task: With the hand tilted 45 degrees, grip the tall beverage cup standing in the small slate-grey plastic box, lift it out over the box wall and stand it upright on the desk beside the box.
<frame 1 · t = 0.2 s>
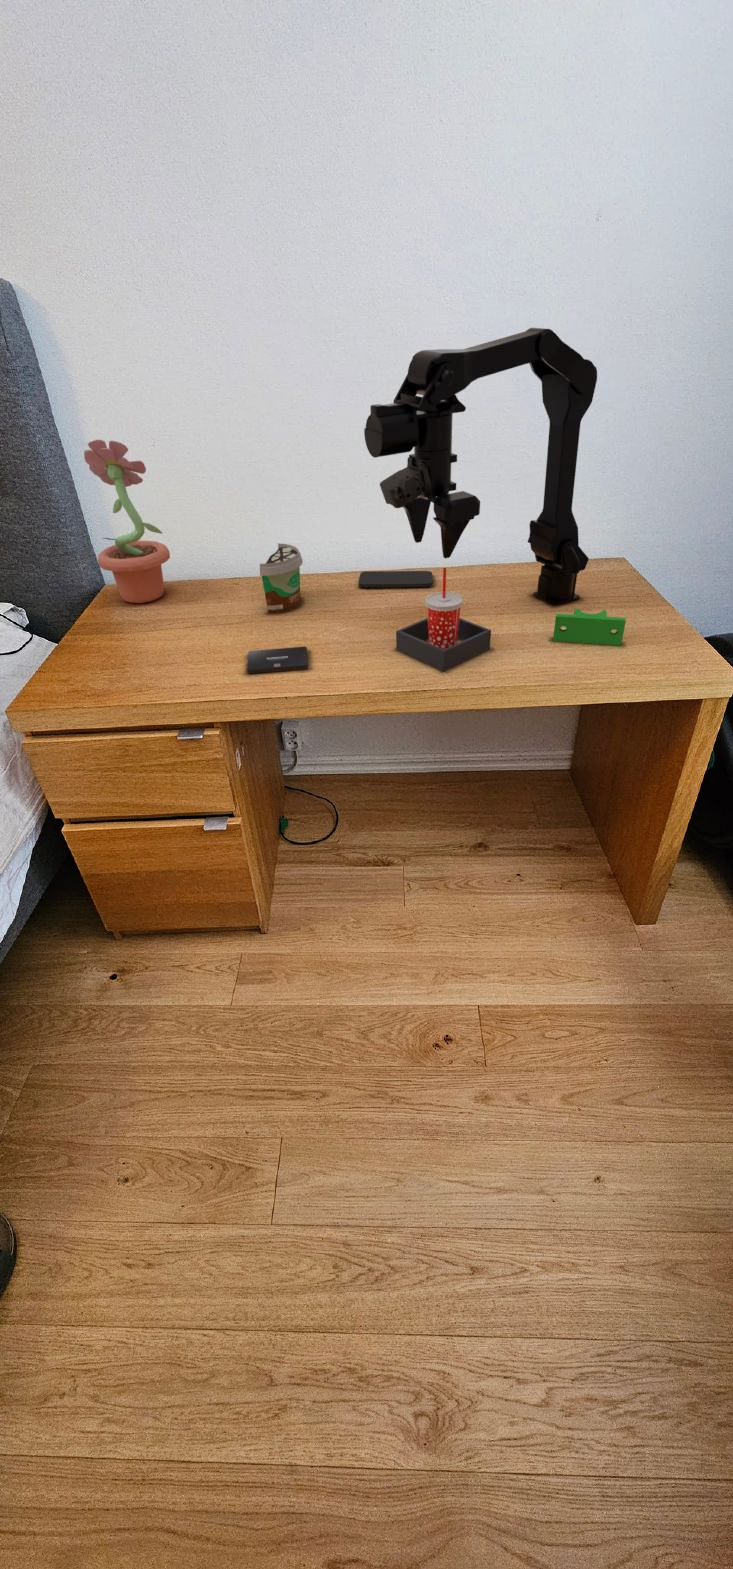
hand: (432, 549, 116), 15 cm above the table, tool pointing down, fingers open, 9 cm apart
decorative flower: (146, 597, 143), on the table
beverage cup: (442, 650, 118), resting in box
pipe clamp: (587, 640, 119), on the table
box: (442, 649, 118), on the table
phone: (395, 582, 144), on the table
solid state drive: (278, 662, 117), on the table
food container: (290, 605, 137), on the table
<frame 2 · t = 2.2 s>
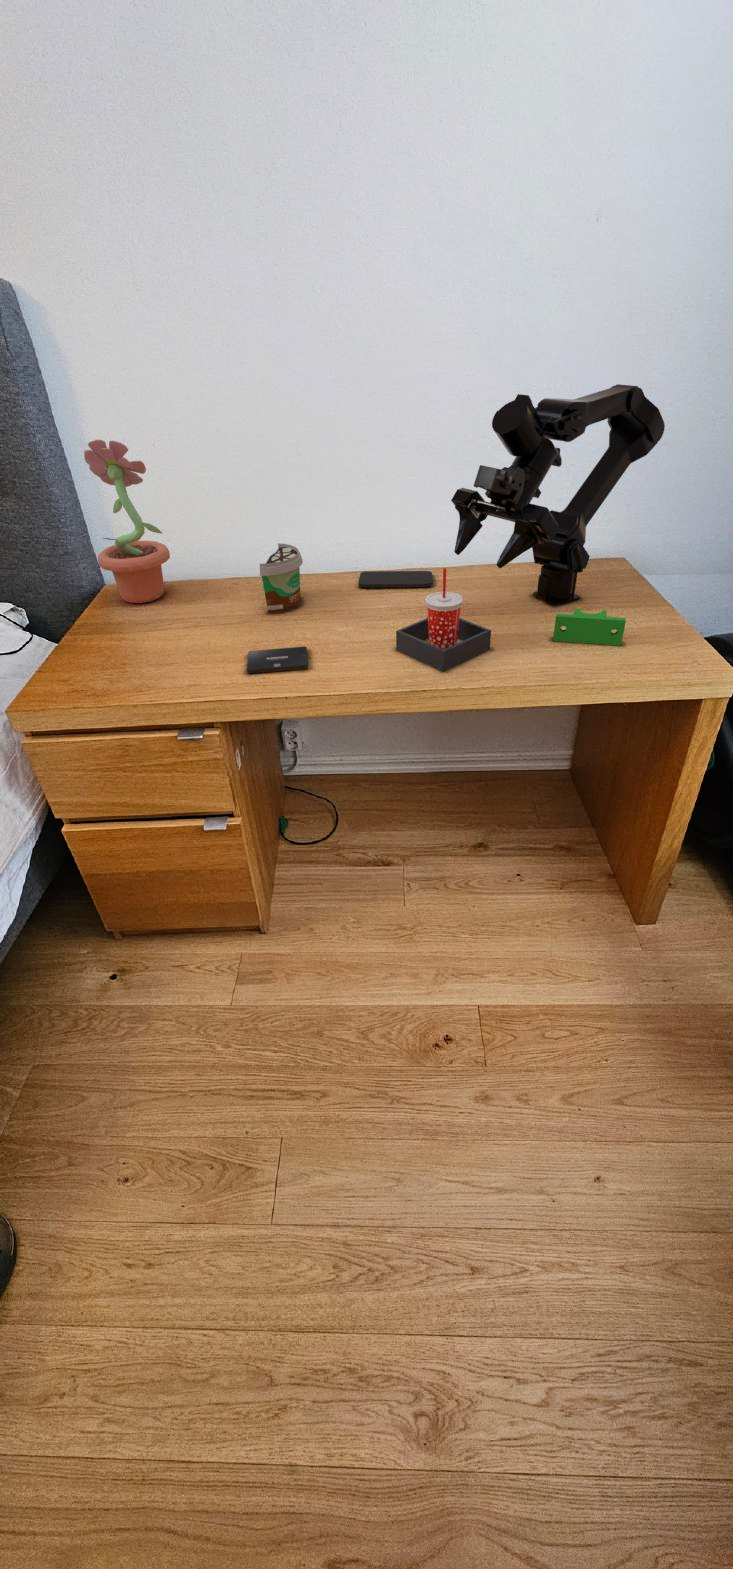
hand: (476, 560, 114), 13 cm above the table, tool tilted 45°, fingers open, 9 cm apart
nothing on the table moved.
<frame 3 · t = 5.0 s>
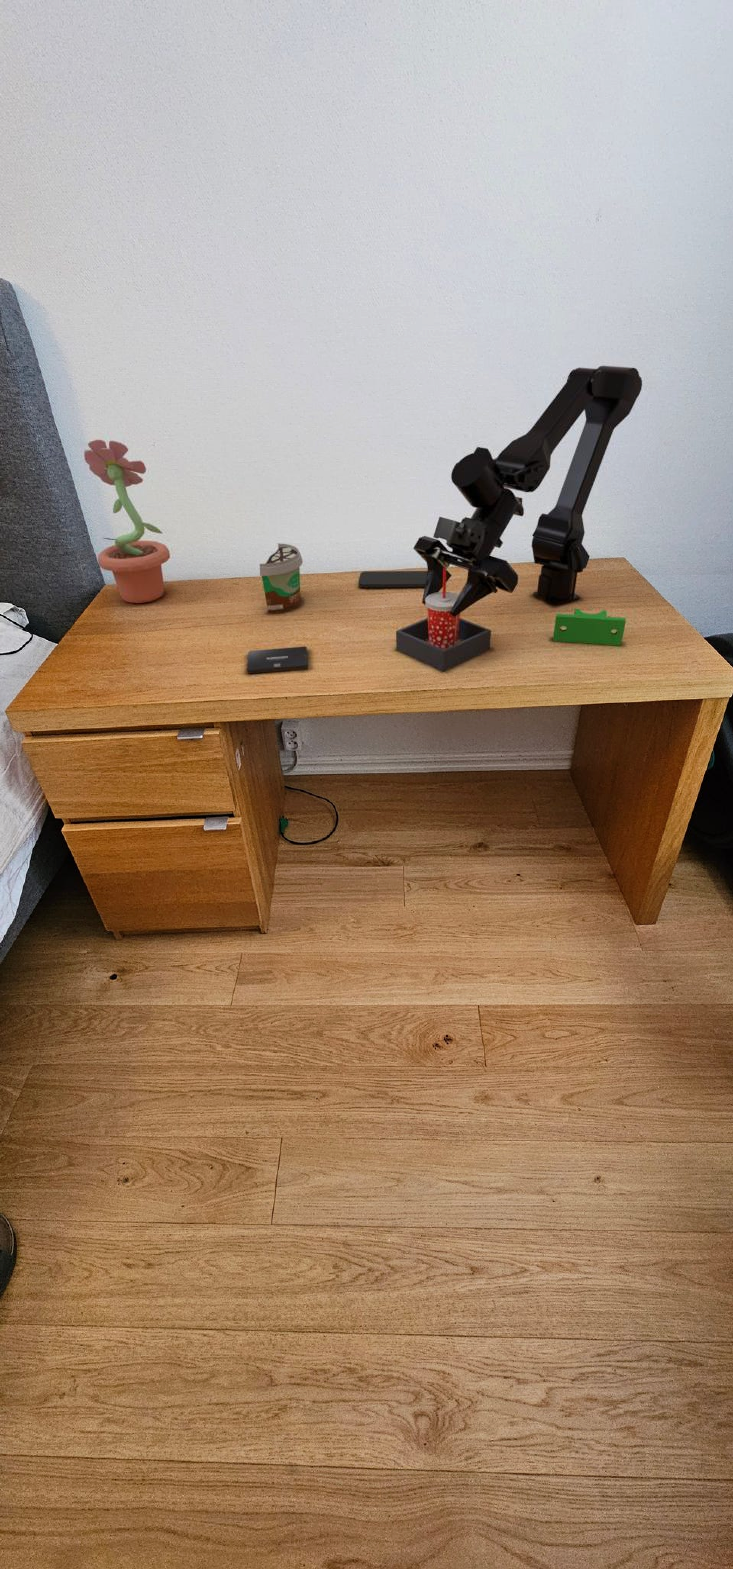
hand: (437, 609, 113), 8 cm above the table, tool tilted 45°, fingers closed on beverage cup, 6 cm apart
beverage cup: (442, 650, 118), resting in box, touching gripper
everything else where it was.
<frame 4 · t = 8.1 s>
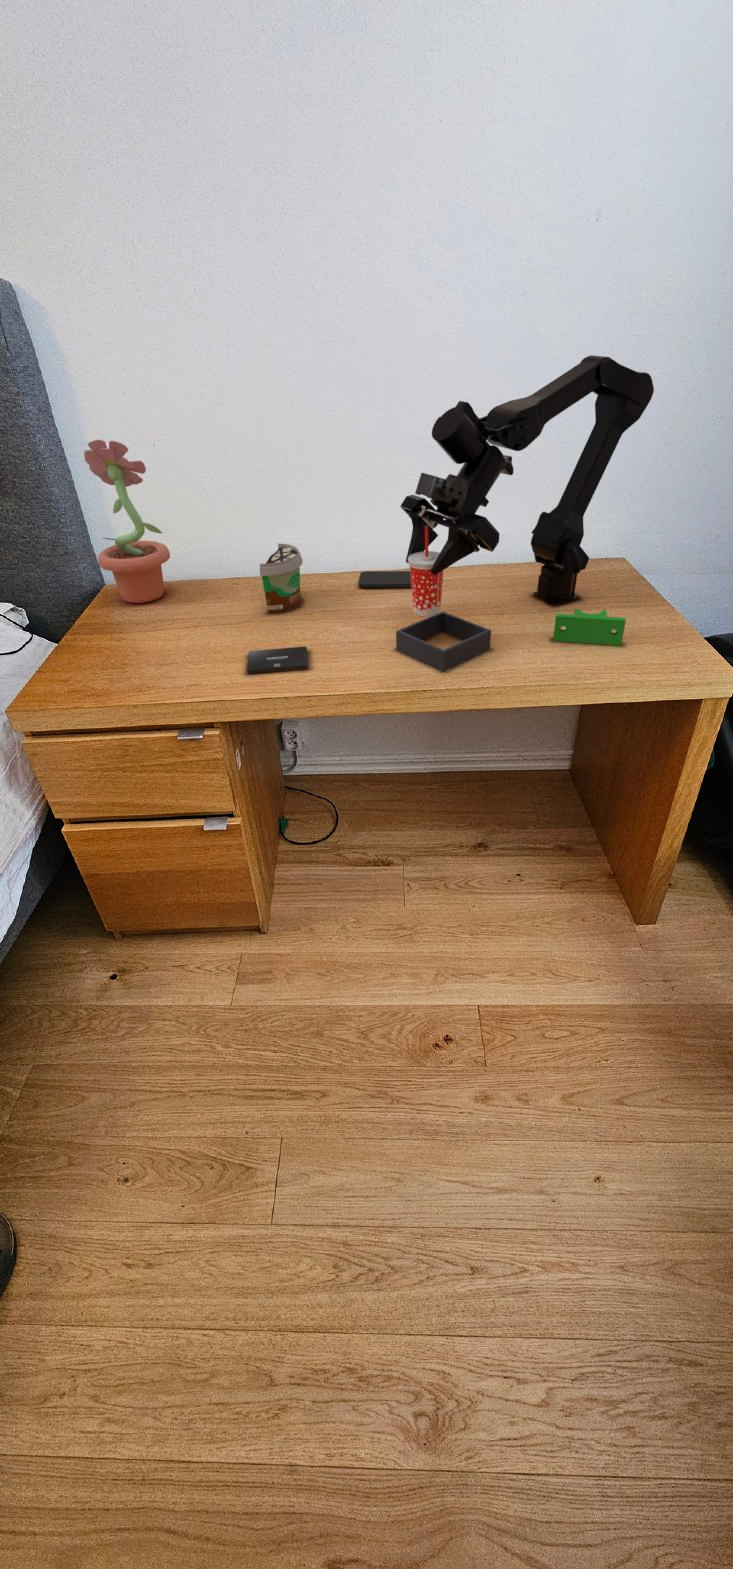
hand: (419, 568, 112), 13 cm above the table, tool tilted 45°, fingers closed on beverage cup, 6 cm apart
beverage cup: (426, 611, 118), point 5 cm above the table, touching gripper
everything else where it was.
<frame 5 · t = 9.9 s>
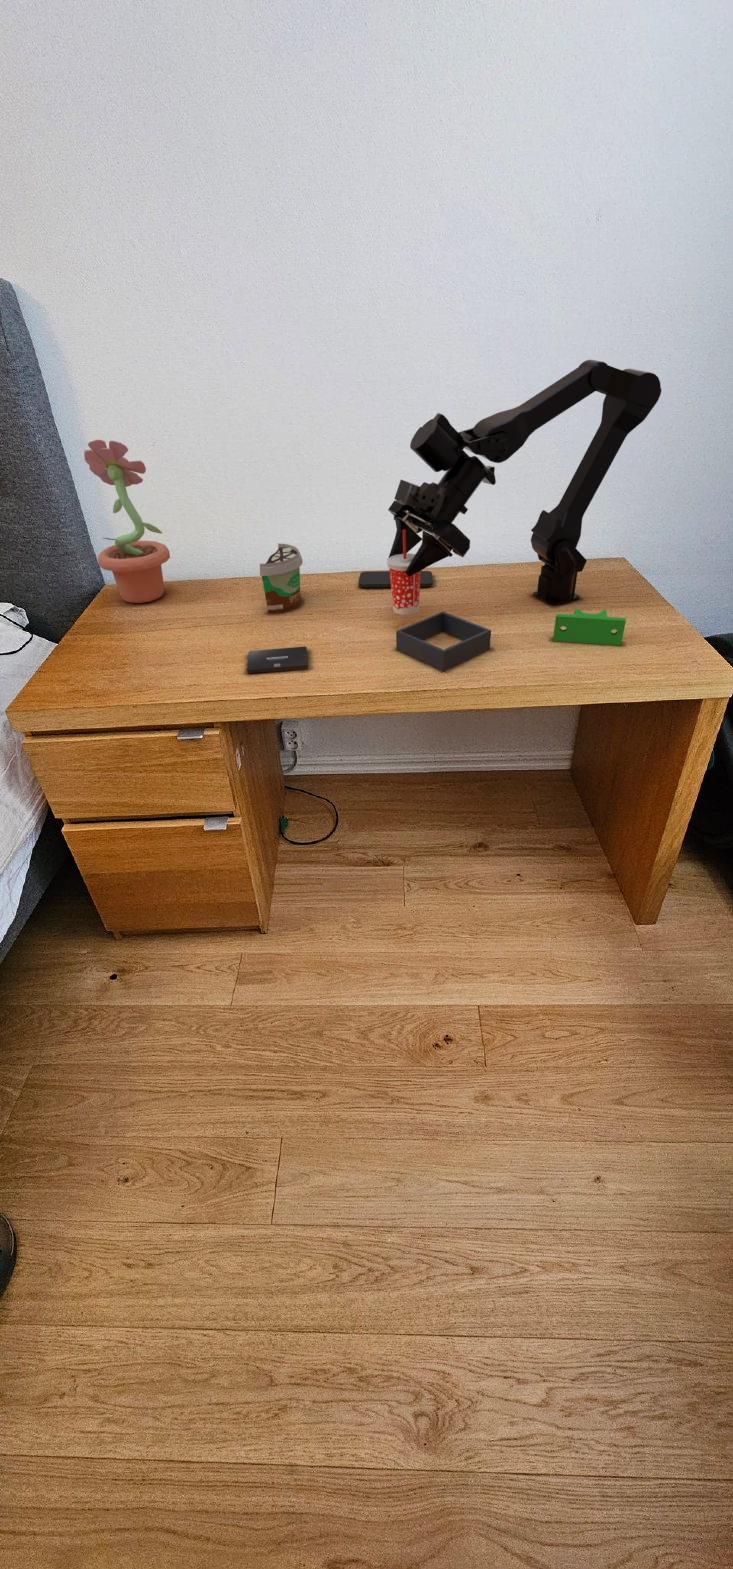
hand: (398, 569, 119), 11 cm above the table, tool tilted 45°, fingers closed on beverage cup, 6 cm apart
beverage cup: (406, 610, 124), point 3 cm above the table, touching gripper
everything else where it was.
when the fingers open (8 cm above the table, at t = 11.4 s): beverage cup stays where it is, on the table.
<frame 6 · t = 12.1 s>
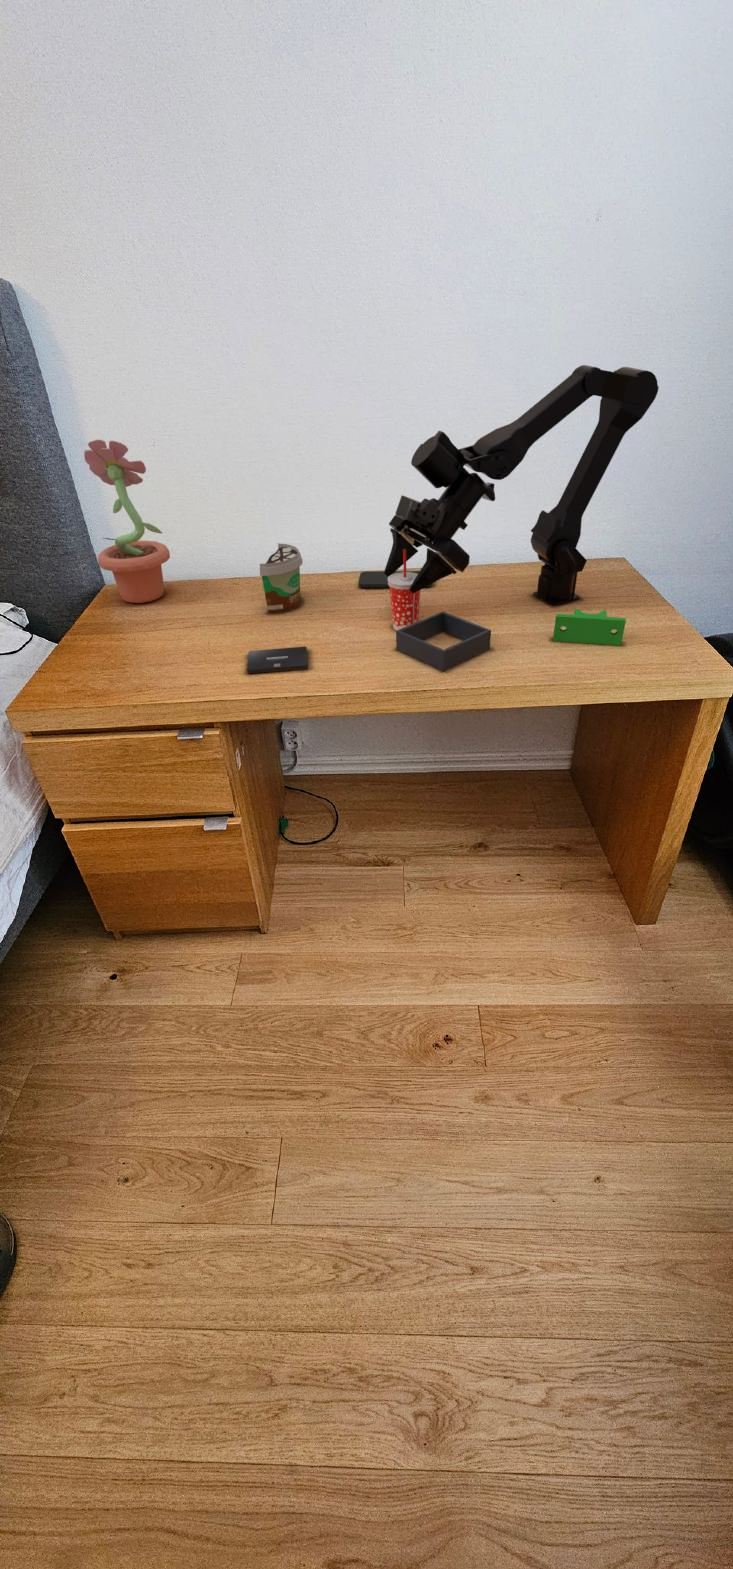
hand: (398, 583, 121), 8 cm above the table, tool tilted 45°, fingers open, 9 cm apart
beverage cup: (405, 627, 126), on the table
everything else where it was.
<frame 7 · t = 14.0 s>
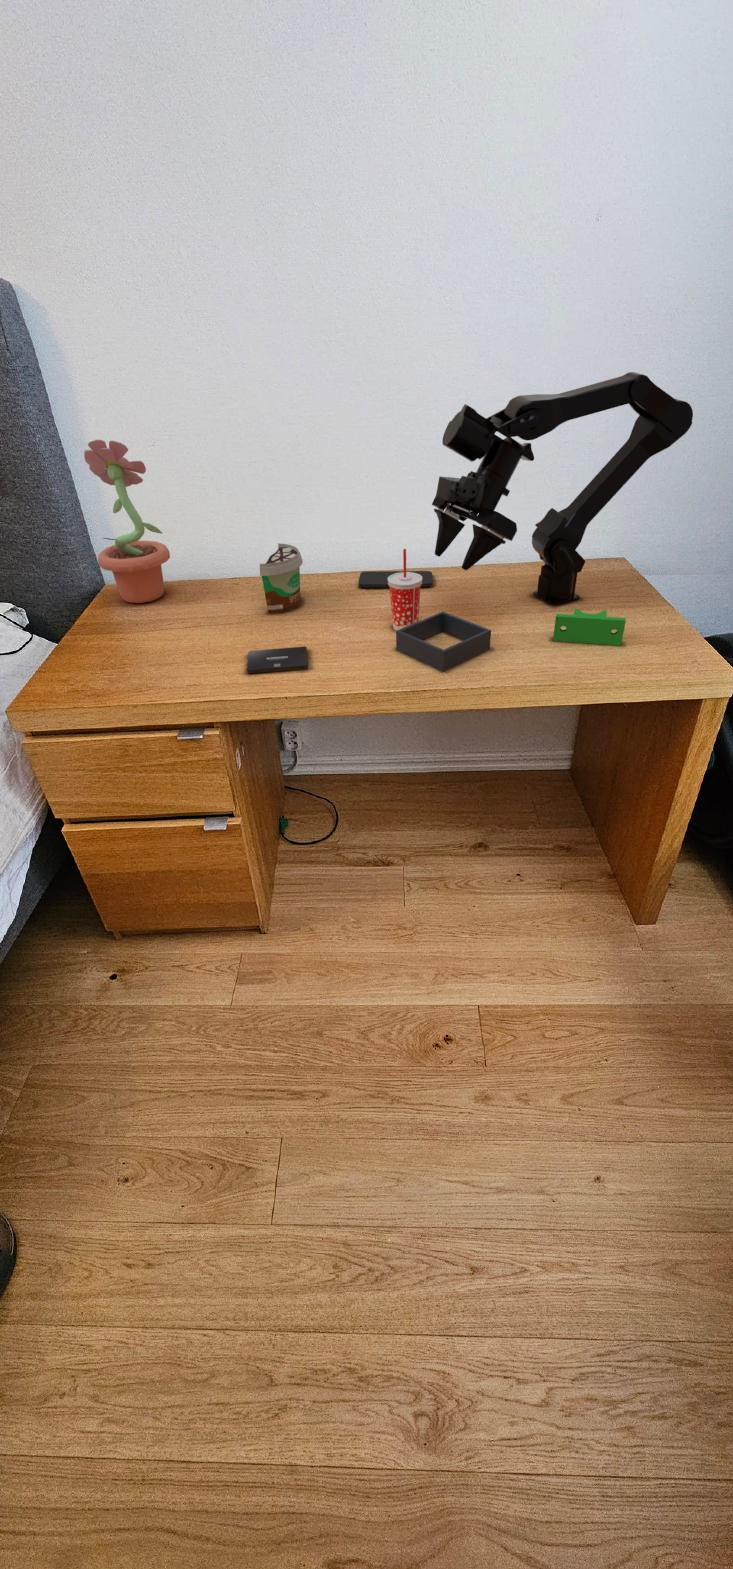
hand: (450, 562, 123), 10 cm above the table, tool tilted 30°, fingers open, 9 cm apart
nothing on the table moved.
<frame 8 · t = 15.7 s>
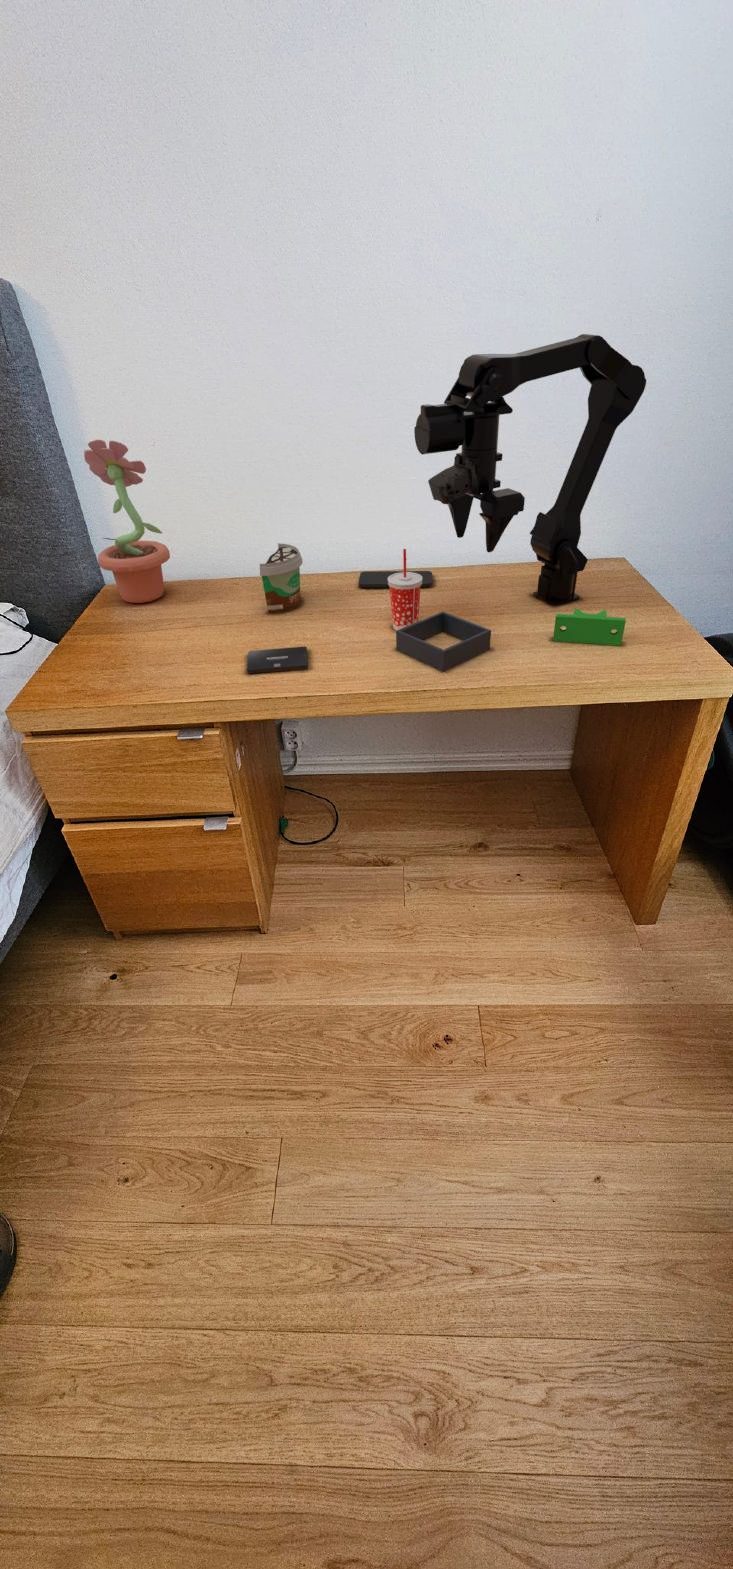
hand: (474, 544, 121), 13 cm above the table, tool pointing down, fingers open, 9 cm apart
nothing on the table moved.
at the end: beverage cup inside the target area (1.4 cm from its centre), on the table; beverage cup tilted 0°; the gripper is holding nothing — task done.
